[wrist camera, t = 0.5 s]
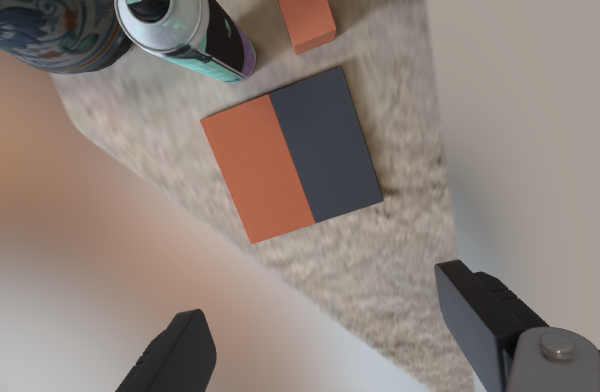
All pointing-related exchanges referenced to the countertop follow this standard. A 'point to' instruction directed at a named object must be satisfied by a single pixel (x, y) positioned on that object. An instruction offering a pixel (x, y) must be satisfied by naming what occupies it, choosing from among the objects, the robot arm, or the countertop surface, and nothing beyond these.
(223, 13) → the spray can
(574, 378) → the robot arm
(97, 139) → the countertop surface
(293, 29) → the terracotta block
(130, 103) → the countertop surface
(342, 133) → the sorting mat
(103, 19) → the beer stein
